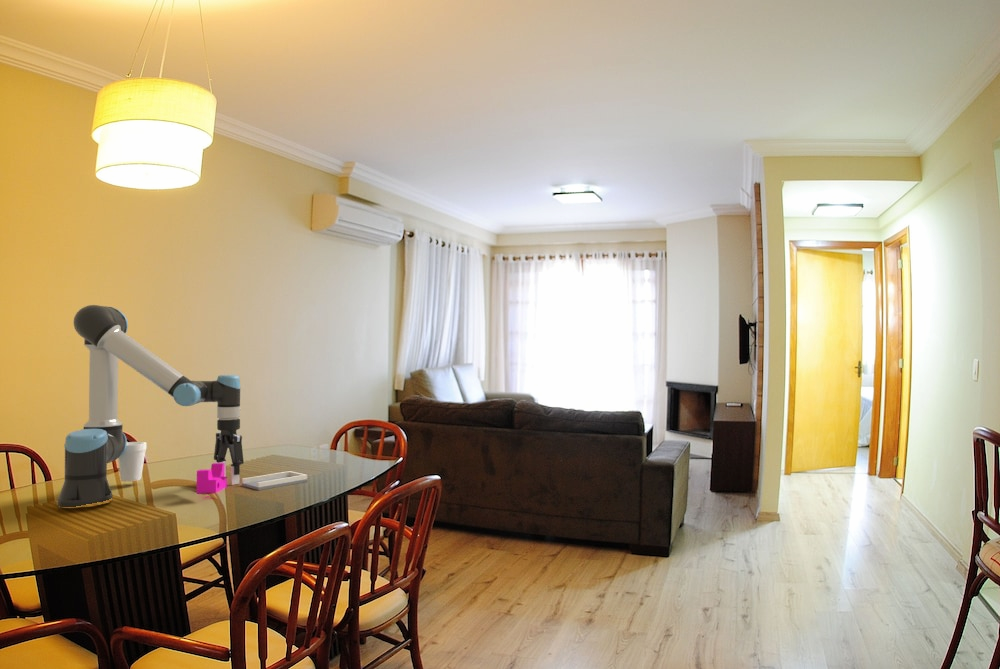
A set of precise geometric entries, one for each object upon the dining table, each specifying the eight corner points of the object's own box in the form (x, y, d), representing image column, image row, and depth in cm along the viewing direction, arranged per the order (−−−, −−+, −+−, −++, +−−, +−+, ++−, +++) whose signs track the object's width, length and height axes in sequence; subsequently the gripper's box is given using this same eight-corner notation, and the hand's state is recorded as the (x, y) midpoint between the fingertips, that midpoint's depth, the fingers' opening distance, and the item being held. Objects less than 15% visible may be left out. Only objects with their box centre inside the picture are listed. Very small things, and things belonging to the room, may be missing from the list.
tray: (258, 490, 227) (259, 482, 227) (241, 485, 234) (241, 478, 234) (307, 481, 241) (307, 474, 242) (289, 477, 249) (289, 471, 249)
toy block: (215, 493, 223) (216, 470, 223) (196, 493, 222) (196, 470, 222) (231, 484, 238) (231, 462, 238) (213, 484, 237) (213, 463, 237)
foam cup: (132, 482, 238) (133, 445, 238) (109, 481, 240) (110, 444, 240) (151, 477, 247) (152, 442, 248) (129, 476, 249) (130, 441, 249)
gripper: (254, 419, 235) (254, 484, 235) (223, 415, 249) (222, 476, 249) (234, 421, 230) (234, 488, 229) (203, 417, 243) (203, 480, 243)
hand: (228, 482), depth 239 cm, fingers open, 9 cm apart
